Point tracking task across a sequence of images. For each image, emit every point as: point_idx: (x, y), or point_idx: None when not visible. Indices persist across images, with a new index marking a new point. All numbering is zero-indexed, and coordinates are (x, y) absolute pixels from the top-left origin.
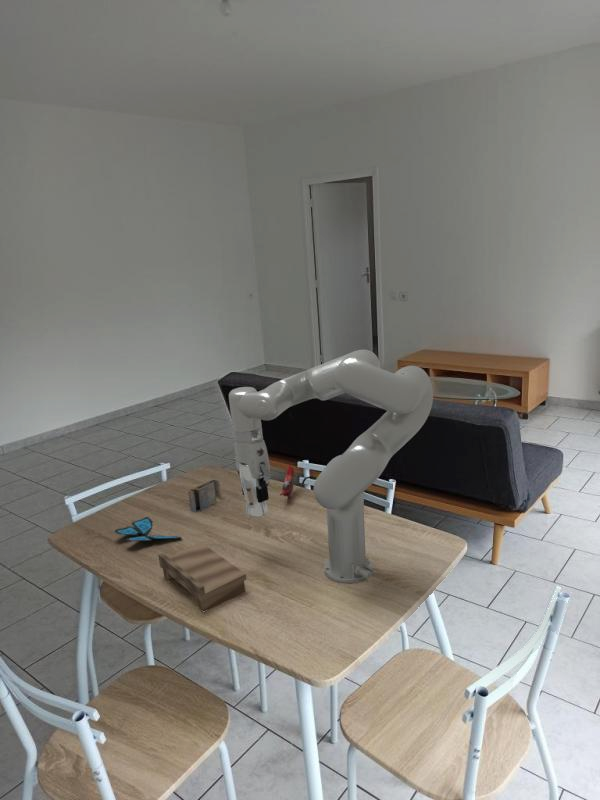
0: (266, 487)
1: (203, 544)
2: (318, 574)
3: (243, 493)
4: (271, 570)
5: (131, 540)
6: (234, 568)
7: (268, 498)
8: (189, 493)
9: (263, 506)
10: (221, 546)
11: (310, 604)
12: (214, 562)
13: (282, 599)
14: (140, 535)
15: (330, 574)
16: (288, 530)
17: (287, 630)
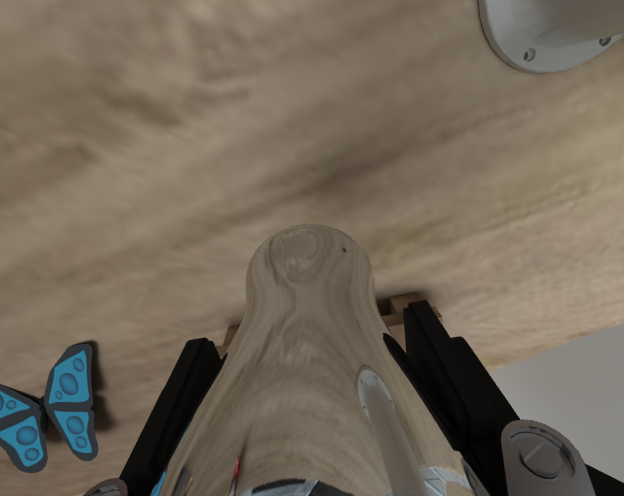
0: (484, 401)
1: (221, 357)
2: (499, 91)
3: None
4: (380, 205)
5: (93, 452)
6: (396, 331)
7: (426, 301)
8: None
9: (374, 293)
10: (177, 272)
11: (579, 188)
12: None
13: (507, 236)
14: (47, 418)
15: (559, 65)
16: (164, 20)
17: (596, 271)
